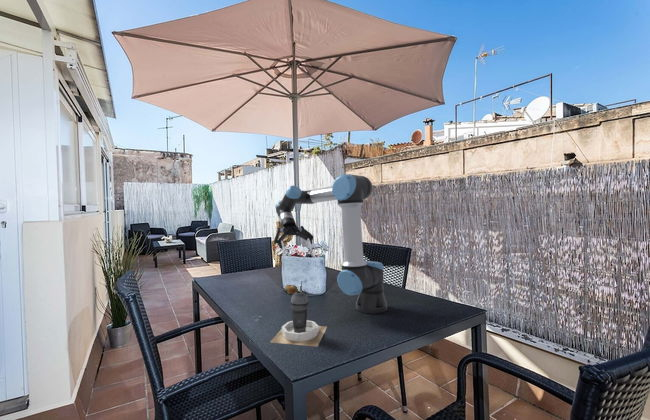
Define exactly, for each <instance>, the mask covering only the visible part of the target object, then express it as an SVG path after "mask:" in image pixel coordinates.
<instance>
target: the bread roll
mask: <svg viewBox="0 0 650 420" xmlns="http://www.w3.org/2000/svg"><path fill="white" fill-rule="evenodd" d="M284 292H285V294H287V293H288V294H287V295H293V294H294V293H296V292H299V291H298V289H297V287H296V286H295V285H288V284H287V285H285V287H284Z"/></svg>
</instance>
